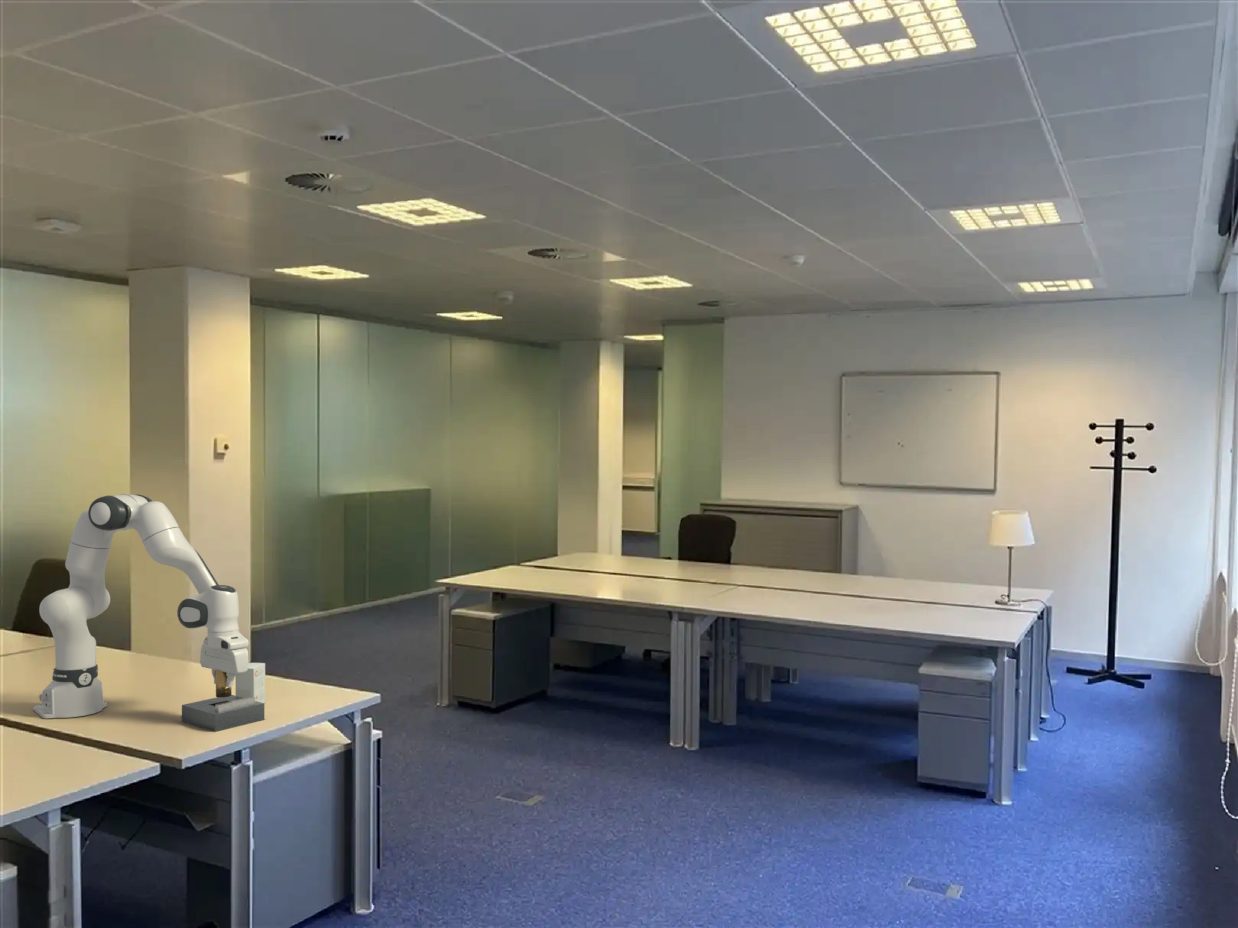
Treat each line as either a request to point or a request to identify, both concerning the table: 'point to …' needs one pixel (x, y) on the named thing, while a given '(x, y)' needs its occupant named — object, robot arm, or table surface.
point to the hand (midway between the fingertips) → (223, 685)
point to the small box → (252, 682)
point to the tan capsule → (222, 685)
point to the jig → (223, 712)
